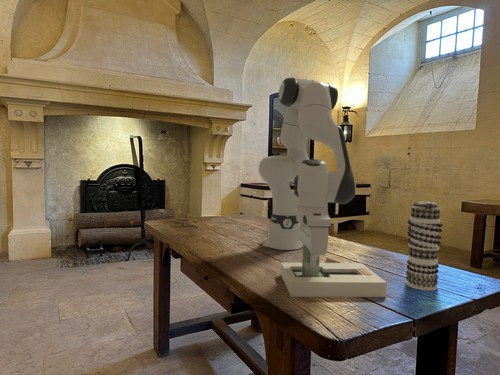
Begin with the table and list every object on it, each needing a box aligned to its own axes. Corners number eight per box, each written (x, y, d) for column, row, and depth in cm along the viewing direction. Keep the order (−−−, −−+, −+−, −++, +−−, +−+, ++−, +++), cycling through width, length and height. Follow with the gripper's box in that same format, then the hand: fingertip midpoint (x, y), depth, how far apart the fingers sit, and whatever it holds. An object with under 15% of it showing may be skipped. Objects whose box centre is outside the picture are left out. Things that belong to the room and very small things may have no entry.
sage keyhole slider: (294, 276, 102) (294, 242, 102) (319, 276, 103) (320, 242, 102) (299, 286, 94) (300, 249, 94) (327, 286, 95) (328, 249, 94)
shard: (326, 261, 125) (326, 257, 125) (347, 264, 123) (347, 259, 123) (323, 270, 115) (323, 264, 115) (346, 272, 113) (346, 267, 113)
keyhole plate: (280, 274, 107) (281, 261, 107) (360, 275, 109) (361, 262, 108) (290, 296, 89) (291, 281, 89) (386, 296, 91) (386, 281, 91)
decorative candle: (424, 292, 94) (429, 204, 93) (397, 282, 103) (401, 200, 101) (446, 288, 98) (451, 203, 97) (418, 278, 107) (423, 200, 105)
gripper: (294, 210, 108) (293, 253, 108) (309, 221, 87) (307, 273, 88) (313, 211, 108) (312, 253, 109) (333, 221, 88) (331, 273, 88)
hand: (310, 262), depth 98 cm, fingers closed on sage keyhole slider, 4 cm apart
